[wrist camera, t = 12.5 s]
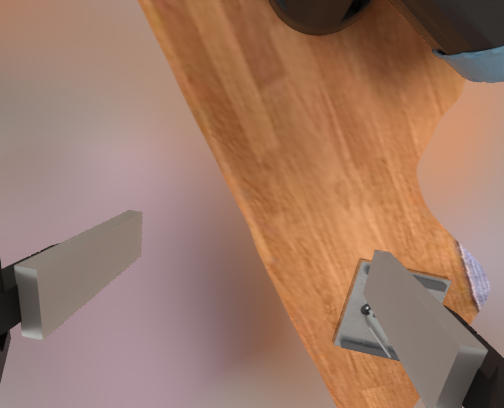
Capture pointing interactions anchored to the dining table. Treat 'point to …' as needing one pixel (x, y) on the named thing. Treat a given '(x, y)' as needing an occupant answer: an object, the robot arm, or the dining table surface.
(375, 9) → the dining table surface
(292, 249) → the dining table surface
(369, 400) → the dining table surface
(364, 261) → the mount plate
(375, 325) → the bracket
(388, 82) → the dining table surface
